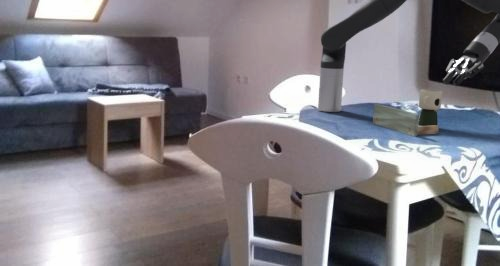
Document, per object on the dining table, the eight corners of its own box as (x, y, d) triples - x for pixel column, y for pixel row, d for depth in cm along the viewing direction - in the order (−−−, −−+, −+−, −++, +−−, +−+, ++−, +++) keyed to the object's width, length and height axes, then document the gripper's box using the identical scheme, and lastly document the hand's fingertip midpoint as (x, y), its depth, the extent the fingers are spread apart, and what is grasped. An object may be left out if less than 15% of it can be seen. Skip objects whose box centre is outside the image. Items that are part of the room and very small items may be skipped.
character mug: (433, 131, 161) (437, 92, 158) (411, 128, 165) (415, 90, 162) (442, 126, 170) (446, 89, 167) (422, 123, 174) (425, 87, 171)
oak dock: (414, 136, 152) (416, 114, 151) (372, 123, 172) (374, 103, 171) (442, 134, 156) (444, 113, 155) (398, 121, 176) (400, 102, 175)
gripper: (460, 39, 174) (429, 74, 172) (492, 41, 161) (460, 78, 159) (469, 54, 177) (439, 88, 175) (502, 57, 164) (470, 93, 162)
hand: (449, 83), depth 167 cm, fingers open, 4 cm apart
